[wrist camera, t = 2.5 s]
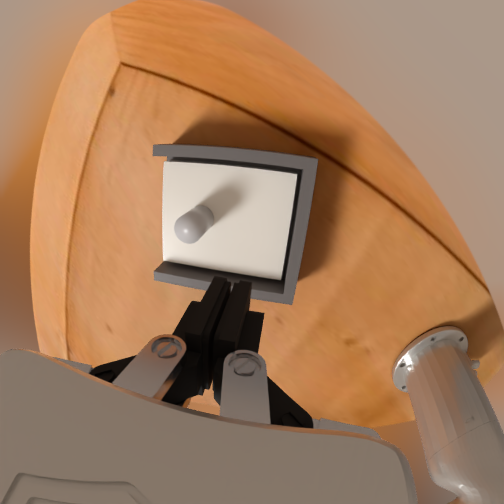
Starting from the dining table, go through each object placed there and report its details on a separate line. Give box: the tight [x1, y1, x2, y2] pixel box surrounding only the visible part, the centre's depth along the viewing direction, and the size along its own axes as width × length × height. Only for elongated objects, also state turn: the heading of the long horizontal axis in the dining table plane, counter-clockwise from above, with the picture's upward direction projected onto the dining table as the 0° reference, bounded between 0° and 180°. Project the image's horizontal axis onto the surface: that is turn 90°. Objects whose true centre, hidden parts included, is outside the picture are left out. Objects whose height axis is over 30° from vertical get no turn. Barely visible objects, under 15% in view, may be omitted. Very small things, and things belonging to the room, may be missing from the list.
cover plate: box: [162, 160, 297, 280], centre depth 23 cm, size 12×10×5 cm
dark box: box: [153, 144, 318, 305], centre depth 25 cm, size 14×13×4 cm
